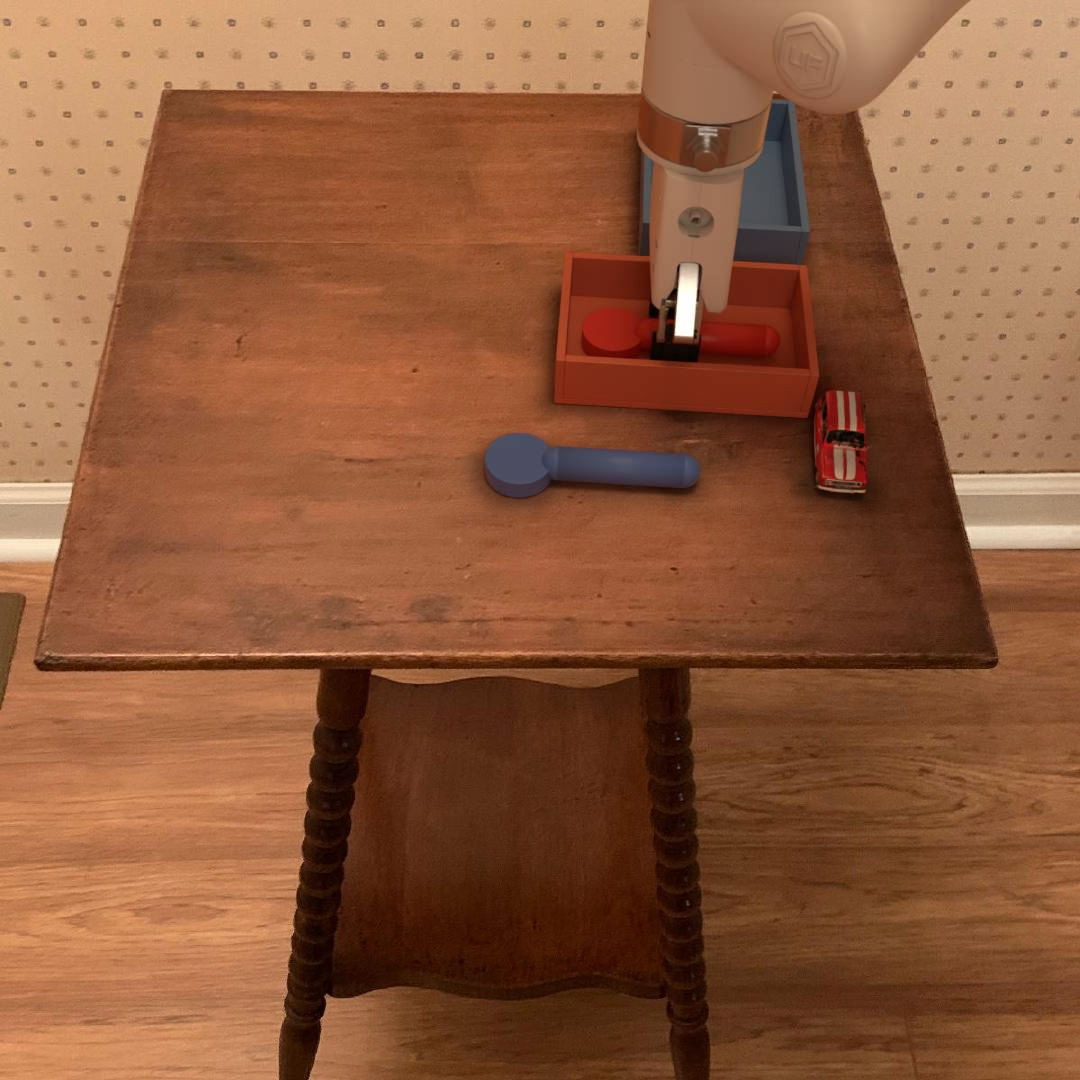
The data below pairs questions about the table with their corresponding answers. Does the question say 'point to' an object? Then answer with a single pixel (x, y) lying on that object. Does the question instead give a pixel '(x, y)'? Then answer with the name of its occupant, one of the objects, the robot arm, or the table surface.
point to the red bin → (715, 378)
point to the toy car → (840, 442)
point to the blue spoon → (579, 466)
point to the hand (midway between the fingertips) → (670, 345)
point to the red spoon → (630, 335)
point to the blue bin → (760, 197)
